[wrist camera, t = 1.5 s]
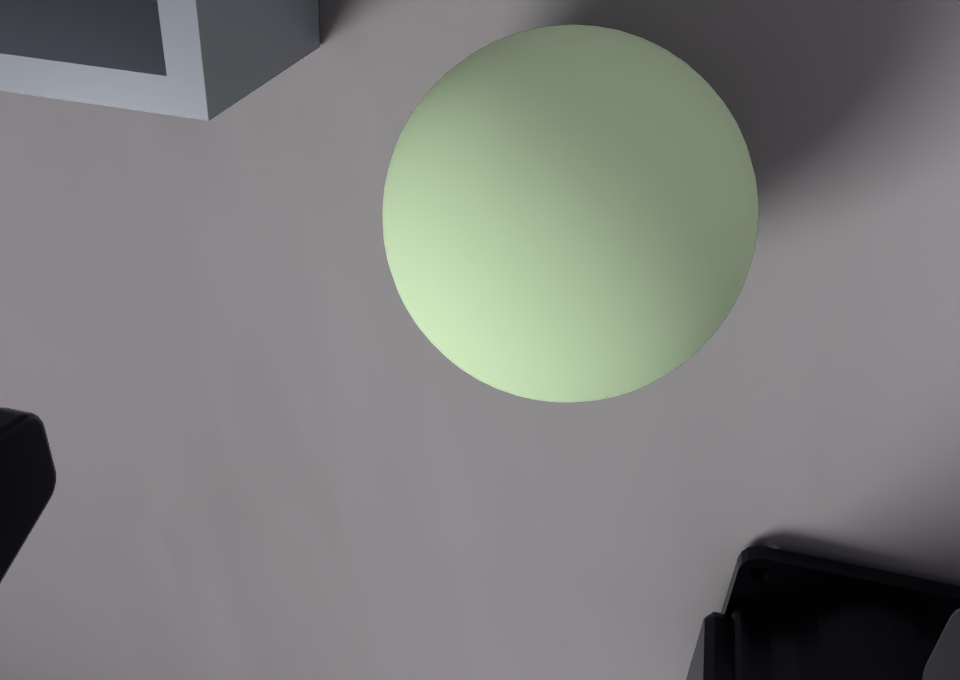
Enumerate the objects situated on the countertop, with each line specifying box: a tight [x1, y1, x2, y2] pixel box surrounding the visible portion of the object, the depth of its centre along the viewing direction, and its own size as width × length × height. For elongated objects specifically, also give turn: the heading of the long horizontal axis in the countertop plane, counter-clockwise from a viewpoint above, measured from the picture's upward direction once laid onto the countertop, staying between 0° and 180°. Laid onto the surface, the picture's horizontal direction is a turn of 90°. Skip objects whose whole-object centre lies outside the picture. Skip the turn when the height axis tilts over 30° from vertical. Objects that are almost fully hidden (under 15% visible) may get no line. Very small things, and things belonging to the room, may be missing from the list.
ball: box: [382, 25, 758, 402], centre depth 15 cm, size 6×6×6 cm
